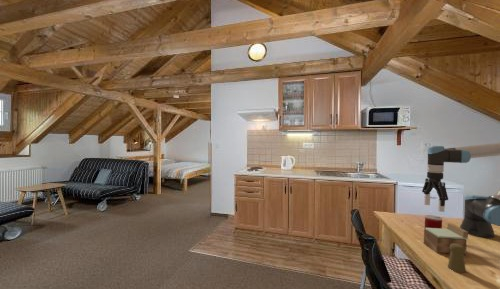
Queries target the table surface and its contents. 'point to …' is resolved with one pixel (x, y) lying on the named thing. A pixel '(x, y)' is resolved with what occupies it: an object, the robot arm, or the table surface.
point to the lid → (449, 232)
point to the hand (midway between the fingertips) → (433, 208)
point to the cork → (457, 258)
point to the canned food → (433, 222)
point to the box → (441, 243)
